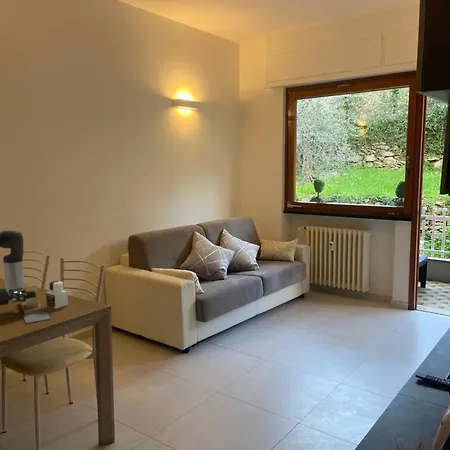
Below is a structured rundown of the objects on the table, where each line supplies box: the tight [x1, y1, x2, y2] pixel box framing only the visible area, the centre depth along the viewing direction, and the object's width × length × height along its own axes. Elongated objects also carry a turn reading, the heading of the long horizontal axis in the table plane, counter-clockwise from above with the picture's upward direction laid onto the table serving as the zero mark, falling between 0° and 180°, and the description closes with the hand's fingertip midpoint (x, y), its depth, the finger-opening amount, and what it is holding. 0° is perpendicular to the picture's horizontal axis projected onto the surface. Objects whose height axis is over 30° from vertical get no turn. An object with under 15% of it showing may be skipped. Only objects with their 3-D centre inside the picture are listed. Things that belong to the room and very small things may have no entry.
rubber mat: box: [22, 311, 51, 324], centre depth 206 cm, size 10×10×1 cm
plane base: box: [19, 298, 45, 316], centre depth 220 cm, size 20×8×8 cm, turn 30°
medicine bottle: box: [45, 280, 69, 310], centre depth 222 cm, size 7×7×12 cm
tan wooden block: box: [24, 282, 39, 308], centre depth 217 cm, size 5×5×10 cm
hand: (34, 292), depth 218 cm, fingers open, 8 cm apart
